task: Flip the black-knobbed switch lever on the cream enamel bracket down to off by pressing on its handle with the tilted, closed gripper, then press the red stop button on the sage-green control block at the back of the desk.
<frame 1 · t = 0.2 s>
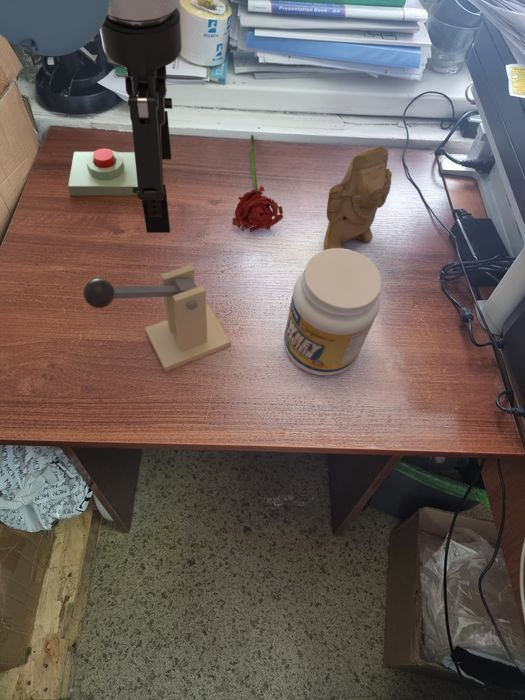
hand: (159, 192, 64), 23 cm above the table, tool pointing down, fingers open, 13 cm apart
flower: (262, 186, 100), on the table
switch lever: (142, 292, 66), point 15 cm above the table, hinge at 25.0°
figurine: (345, 245, 93), on the table
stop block: (108, 178, 98), on the table
stop button: (104, 158, 94), point 4 cm above the table, slide at 0.1 cm
switch bracket: (188, 339, 80), on the table
supplement tub: (320, 346, 81), on the table
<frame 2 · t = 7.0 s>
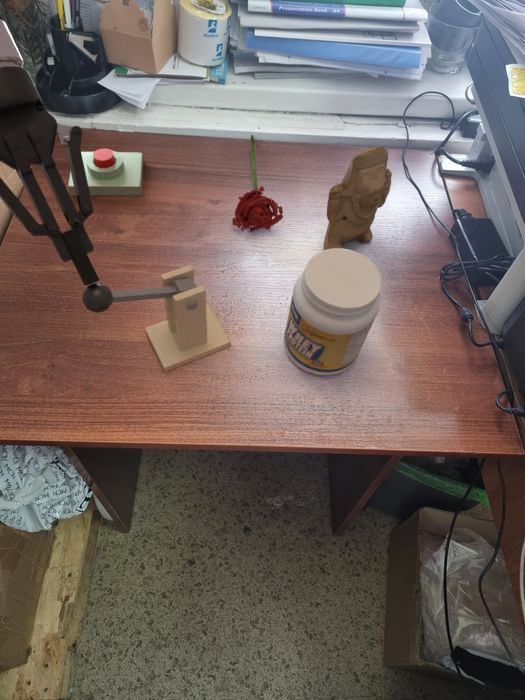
hand: (91, 282, 61), 18 cm above the table, tool tilted 45°, fingers closed
switch lever: (141, 294, 66), point 14 cm above the table, hinge at 20.9°, touching gripper
everything else where it was.
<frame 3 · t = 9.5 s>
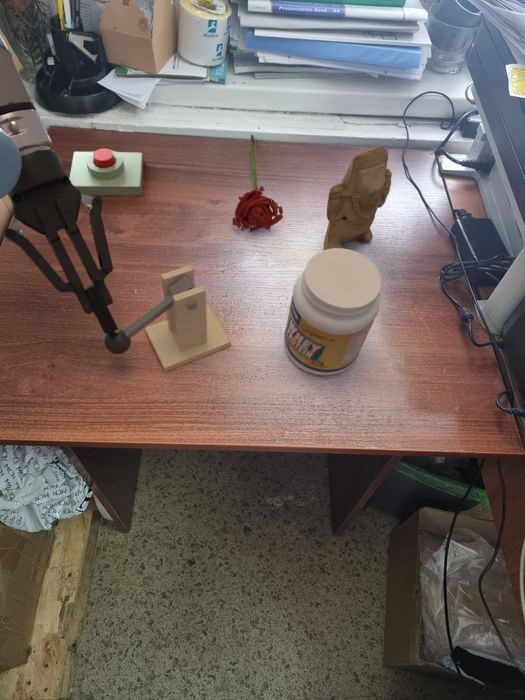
hand: (111, 330, 69), 9 cm above the table, tool tilted 45°, fingers closed
switch lever: (149, 317, 70), point 9 cm above the table, hinge at -29.9°, touching gripper
everything else where it was.
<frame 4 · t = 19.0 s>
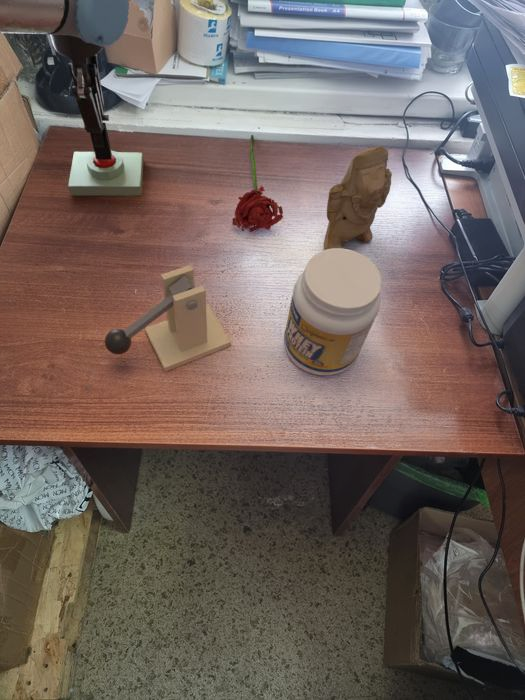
hand: (104, 156, 94), 5 cm above the table, tool pointing down, fingers closed
switch lever: (149, 317, 70), point 9 cm above the table, hinge at -30.3°
stop button: (104, 162, 95), point 4 cm above the table, slide at -0.7 cm, touching gripper
everything else where it was.
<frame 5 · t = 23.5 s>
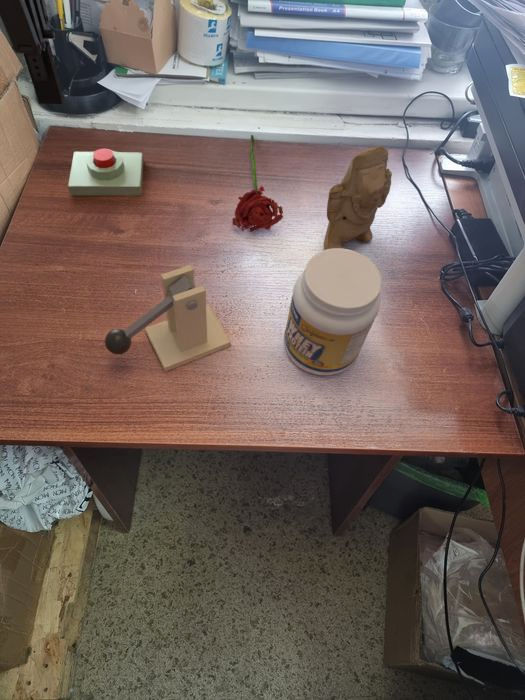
hand: (51, 100, 62), 29 cm above the table, tool pointing down, fingers closed
stop button: (104, 158, 94), point 4 cm above the table, slide at 0.1 cm
everything else where it was.
at the end: switch lever at -30° (first picture: +25°); stop button pushed in 1.0 cm at the most during the clip, back to where it started at the end; stop button slide at 0.1 cm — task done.
